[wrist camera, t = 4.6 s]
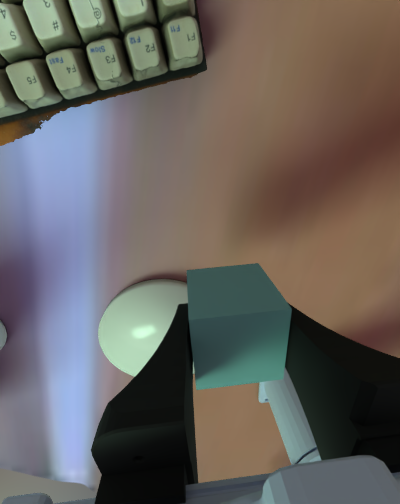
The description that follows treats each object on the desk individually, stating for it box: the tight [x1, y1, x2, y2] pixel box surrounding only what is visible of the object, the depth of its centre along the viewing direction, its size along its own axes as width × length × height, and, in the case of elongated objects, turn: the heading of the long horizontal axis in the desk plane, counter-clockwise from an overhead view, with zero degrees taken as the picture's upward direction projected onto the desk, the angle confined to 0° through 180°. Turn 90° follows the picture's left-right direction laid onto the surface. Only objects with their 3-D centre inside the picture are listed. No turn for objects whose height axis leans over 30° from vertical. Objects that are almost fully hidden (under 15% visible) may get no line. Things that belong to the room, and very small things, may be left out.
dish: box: [98, 279, 195, 376], centre depth 23 cm, size 13×13×1 cm
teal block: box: [187, 263, 292, 390], centre depth 12 cm, size 4×4×4 cm
